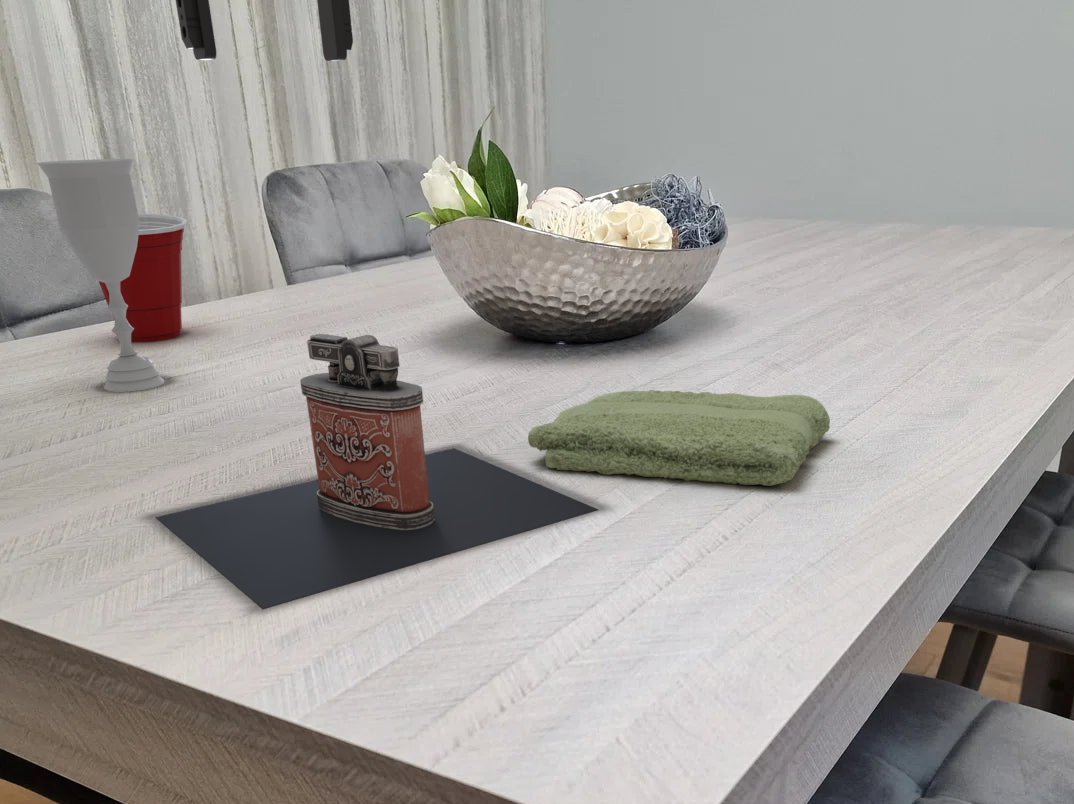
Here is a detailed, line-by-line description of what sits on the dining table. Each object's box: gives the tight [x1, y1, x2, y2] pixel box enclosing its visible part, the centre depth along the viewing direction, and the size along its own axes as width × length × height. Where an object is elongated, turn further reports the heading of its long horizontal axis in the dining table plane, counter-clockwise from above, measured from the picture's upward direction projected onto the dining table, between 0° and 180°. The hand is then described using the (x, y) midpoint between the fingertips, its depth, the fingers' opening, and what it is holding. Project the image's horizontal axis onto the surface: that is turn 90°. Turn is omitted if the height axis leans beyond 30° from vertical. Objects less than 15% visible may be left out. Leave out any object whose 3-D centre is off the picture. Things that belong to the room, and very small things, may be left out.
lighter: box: [299, 333, 435, 530], centre depth 58 cm, size 8×3×10 cm, turn 56°
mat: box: [155, 447, 600, 610], centre depth 60 cm, size 20×16×1 cm
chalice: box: [37, 158, 165, 393], centre depth 86 cm, size 7×7×18 cm
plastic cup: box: [98, 213, 188, 343], centre depth 107 cm, size 11×11×12 cm
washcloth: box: [527, 389, 831, 487], centre depth 69 cm, size 13×18×3 cm
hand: (272, 60), depth 66 cm, fingers open, 8 cm apart
